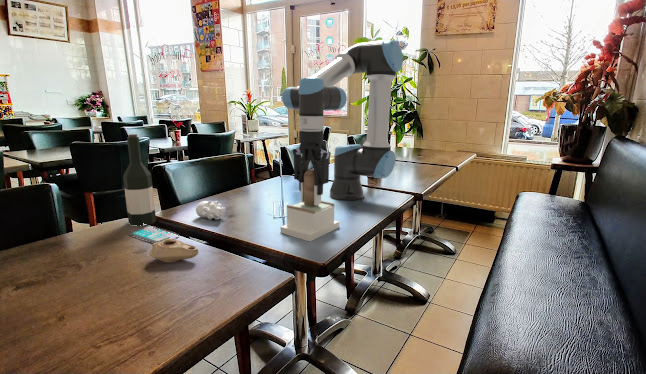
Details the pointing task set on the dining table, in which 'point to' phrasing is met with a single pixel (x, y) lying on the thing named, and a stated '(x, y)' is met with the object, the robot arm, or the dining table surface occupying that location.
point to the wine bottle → (138, 187)
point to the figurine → (210, 210)
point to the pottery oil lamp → (172, 250)
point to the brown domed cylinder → (309, 187)
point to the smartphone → (151, 235)
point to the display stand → (310, 220)
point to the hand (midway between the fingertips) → (310, 202)
